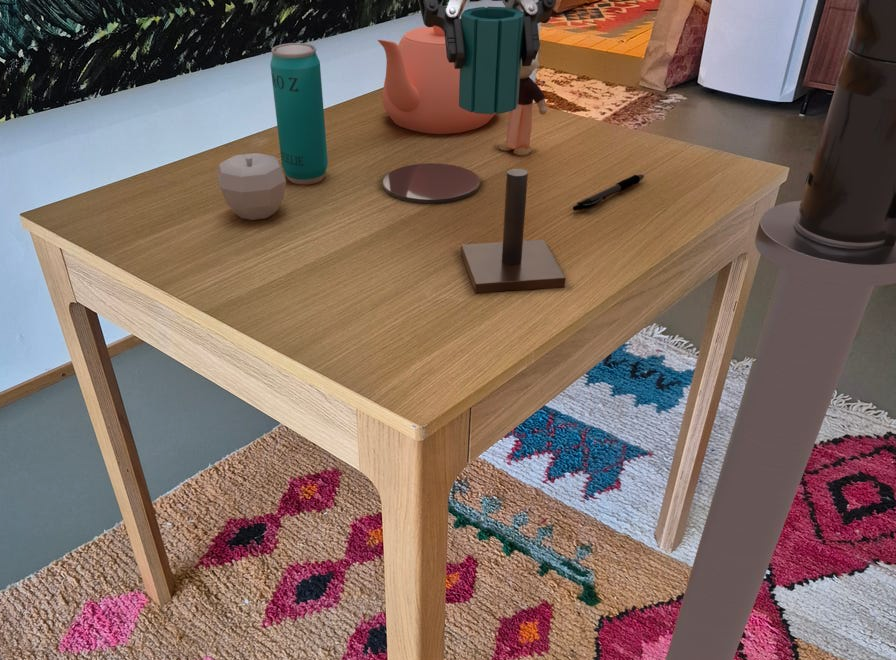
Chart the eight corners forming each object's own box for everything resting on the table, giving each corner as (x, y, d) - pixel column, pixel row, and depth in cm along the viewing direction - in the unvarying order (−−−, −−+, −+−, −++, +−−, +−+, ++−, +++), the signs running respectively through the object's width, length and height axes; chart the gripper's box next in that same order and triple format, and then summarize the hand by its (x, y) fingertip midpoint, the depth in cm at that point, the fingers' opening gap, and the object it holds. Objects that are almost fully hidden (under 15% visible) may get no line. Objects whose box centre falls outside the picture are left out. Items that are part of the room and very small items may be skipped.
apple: (213, 227, 94) (202, 169, 90) (232, 200, 100) (224, 144, 96) (281, 229, 94) (274, 171, 89) (297, 202, 100) (291, 146, 95)
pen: (581, 216, 95) (582, 206, 94) (569, 212, 96) (570, 202, 95) (650, 182, 103) (651, 173, 102) (638, 179, 103) (640, 170, 103)
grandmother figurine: (486, 149, 113) (491, 46, 104) (501, 141, 115) (506, 40, 107) (537, 160, 109) (545, 55, 101) (550, 152, 112) (560, 48, 103)
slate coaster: (486, 170, 107) (487, 166, 106) (470, 207, 98) (470, 203, 98) (396, 164, 109) (396, 160, 109) (371, 199, 100) (371, 195, 100)
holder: (543, 247, 89) (552, 153, 83) (564, 287, 82) (576, 187, 76) (460, 253, 89) (463, 158, 82) (475, 293, 82) (479, 192, 75)
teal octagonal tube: (520, 98, 83) (527, 7, 78) (513, 115, 79) (519, 21, 74) (465, 94, 84) (468, 5, 79) (455, 112, 80) (457, 19, 75)
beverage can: (299, 167, 108) (286, 40, 99) (337, 173, 107) (328, 45, 97) (274, 182, 105) (258, 51, 95) (313, 189, 103) (301, 56, 93)
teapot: (427, 155, 111) (427, 45, 103) (338, 129, 120) (330, 25, 111) (533, 109, 126) (541, 9, 117) (447, 89, 134) (448, -6, 125)
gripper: (404, -139, 74) (421, 41, 73) (561, -142, 76) (581, 35, 74) (398, -76, 82) (414, 88, 81) (542, -80, 83) (559, 82, 82)
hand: (494, 62), depth 77 cm, fingers closed on teal octagonal tube, 6 cm apart
